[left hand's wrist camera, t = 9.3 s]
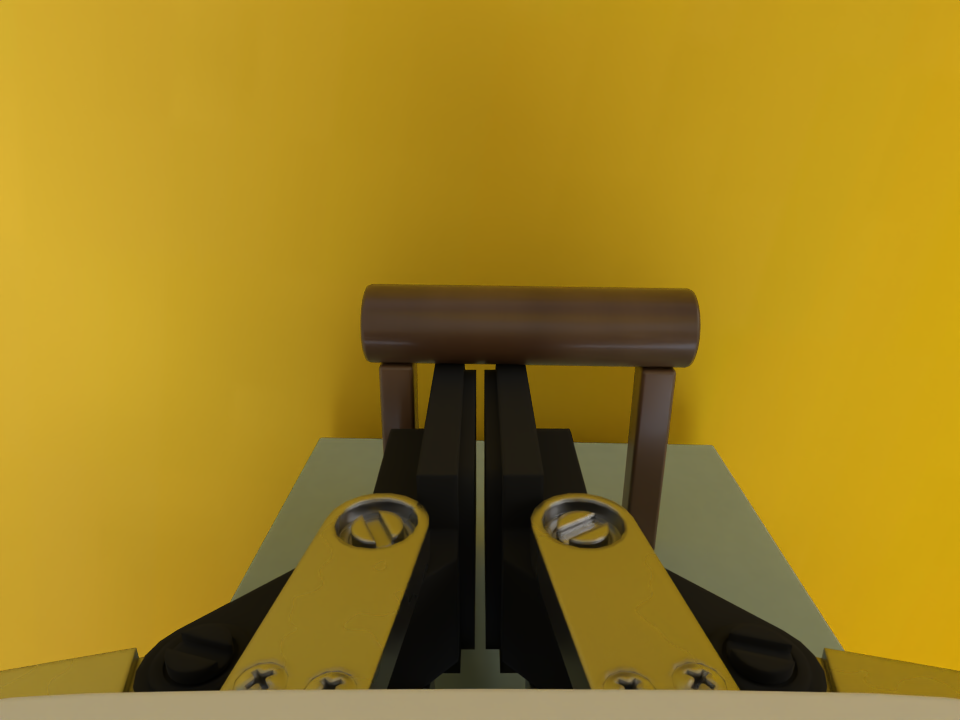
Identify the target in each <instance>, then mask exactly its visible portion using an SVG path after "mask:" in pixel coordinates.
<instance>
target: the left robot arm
mask: <svg viewBox="0 0 960 720" xmlns="http://www.w3.org/2000/svg"><path fill="white" fill-rule="evenodd" d="M484 542H485V641H486V649H499V657H500V673H518V674H519V675H521V676H522V677H523V678H525V689H435V679H436V678H437V677H439V676H440V675H441V674H442V673H460V668H461V650H475V584H476V370H465V364H441V363H435V369H434V375H433V380H432V386H431V392H430V398H429V404H428V410H427V416H426V421H425V427H424V429H391V430H390V433H389V437H388V440H387V444H386V448H385V451H384V455H383V459H382V462H381V466H380V470H379V473H378V477H377V481H376V484H375V488H374V492H373V494H369V495H363V496H359V497H357V498H354V499H351V500H348V501H346V502H344V503H343V504H341V505H340V506H338V507H337V508H335V509H334V510H333V511H332V512H331V513H330V515H329V516H328V517H327V518H326V520H325V521H324V523H323V524H322V526H321V528H320V529H319V531H318V533H317V534H316V536H315V537H314V539H313V541H312V542H311V544H310V545H309V547H308V549H307V550H306V552H305V554H304V555H303V557H302V558H301V560H300V562H299V563H298V565H297V566H296V568H294V569H292V570H291V571H289V572H287V573H285V574H283V575H281V576H279V577H277V578H275V579H273V580H272V581H270V582H268V583H266V584H264V585H262V586H260V587H258V588H256V589H254V590H253V591H251V592H249V593H247V594H245V595H243V596H241V597H239V598H237V599H236V600H234V601H232V602H230V603H228V604H226V605H224V606H222V607H220V608H218V609H217V610H215V611H213V612H211V613H209V614H207V615H205V616H203V617H201V618H199V619H198V620H196V621H194V622H192V623H190V624H188V625H186V626H184V627H182V628H180V629H179V630H177V631H175V632H174V633H172V634H171V635H169V636H167V637H166V638H164V639H163V640H161V641H160V642H159V643H158V644H157V645H156V646H155V647H154V648H153V649H152V650H151V651H150V652H149V653H148V654H147V655H146V656H145V657H142V658H139V657H138V653H137V649H136V648H131V649H126V650H120V651H114V652H108V653H102V654H96V655H91V656H85V657H79V658H73V659H67V660H62V661H56V662H50V663H44V664H38V665H32V666H27V667H21V668H15V669H9V670H3V671H0V720H960V671H957V670H951V669H945V668H939V667H933V666H928V665H922V664H916V663H910V662H904V661H899V660H893V659H887V658H881V657H875V656H870V655H864V654H858V653H852V652H846V651H841V650H835V649H829V648H824V650H823V654H822V658H819V657H815V655H814V654H813V653H812V652H811V651H810V650H809V649H808V648H807V647H806V646H805V645H804V644H803V643H802V642H801V641H799V640H797V639H796V638H794V637H793V636H791V635H790V634H788V633H787V632H785V631H784V630H782V629H780V628H778V627H776V626H774V625H772V624H770V623H769V622H767V621H765V620H763V619H761V618H759V617H757V616H755V615H753V614H751V613H750V612H748V611H746V610H744V609H742V608H740V607H738V606H736V605H734V604H732V603H731V602H729V601H727V600H725V599H723V598H721V597H719V596H717V595H715V594H714V593H712V592H710V591H708V590H706V589H704V588H702V587H700V586H698V585H696V584H695V583H693V582H691V581H689V580H687V579H685V578H683V577H681V576H679V575H677V574H676V573H674V572H672V571H670V570H668V569H666V568H664V566H663V565H662V563H661V562H660V560H659V558H658V557H657V555H656V554H655V552H654V550H653V549H652V547H651V545H650V544H649V542H648V541H647V539H646V537H645V536H644V534H643V533H642V531H641V529H640V528H639V526H638V524H637V523H636V521H635V520H634V518H633V517H632V516H631V515H630V513H629V512H628V511H627V510H626V509H625V508H623V507H622V506H620V505H619V504H617V503H616V502H614V501H612V500H609V499H606V498H603V497H601V496H597V495H591V494H587V490H586V486H585V483H584V479H583V475H582V472H581V468H580V464H579V461H578V457H577V453H576V450H575V446H574V442H573V439H572V435H571V432H570V429H536V424H535V419H534V413H533V407H532V401H531V395H530V389H529V383H528V377H527V372H526V366H525V365H501V364H496V370H485V374H484Z"/></svg>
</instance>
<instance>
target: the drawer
mask: <svg viewBox="0 0 960 720" xmlns="http://www.w3.org/2000/svg"><path fill="white" fill-rule="evenodd" d="M699 339H700V311H699V305H698V301H697V298H696V295H695V293H694V292H693V291H692V290H690V289H682V288H610V287H538V286H466V285H394V284H371V285H369V286H367V287H366V289H365V292H364V295H363V300H362V306H361V342H362V348H363V352H364V355H365V358H366V360H367V361H369V362H381V365H380V367H379V379H380V399H381V418H382V438H383V439H366V438H320V439H319V441H318V443H317V445H316V446H315V448H314V450H313V452H312V454H311V456H310V457H309V459H308V461H307V463H306V465H305V467H304V468H303V470H302V472H301V474H300V476H299V477H298V479H297V481H296V483H295V485H294V487H293V488H292V490H291V492H290V494H289V496H288V498H287V499H286V501H285V503H284V505H283V507H282V508H281V510H280V512H279V514H278V516H277V518H276V519H275V521H274V523H273V525H272V527H271V529H270V530H269V532H268V534H267V536H266V538H265V540H264V541H263V543H262V545H261V547H260V549H259V550H258V552H257V554H256V556H255V558H254V560H253V561H252V563H251V565H250V567H249V569H248V571H247V572H246V574H245V576H244V578H243V580H242V581H241V583H240V585H239V587H238V589H237V591H236V592H235V594H234V596H233V598H232V600H231V602H232V601H234V600H236V599H237V598H239V597H241V596H243V595H245V594H247V593H249V592H251V591H253V590H254V589H256V588H258V587H260V586H262V585H264V584H266V583H268V582H270V581H272V580H273V579H275V578H277V577H279V576H281V575H283V574H285V573H287V572H289V571H291V570H292V569H294V568H296V566H297V565H298V563H299V562H300V560H301V558H302V557H303V555H304V554H305V552H306V550H307V549H308V547H309V545H310V544H311V542H312V541H313V539H314V537H315V536H316V534H317V533H318V531H319V529H320V528H321V526H322V524H323V523H324V521H325V520H326V518H327V517H328V516H329V515H330V513H331V512H332V511H333V510H334V509H335V508H337V507H338V506H340V505H341V504H343V503H344V502H346V501H348V500H351V499H354V498H357V497H359V496H363V495H369V494H373V492H374V488H375V484H376V481H377V477H378V473H379V470H380V466H381V462H382V459H383V455H384V451H385V448H386V444H387V440H388V437H389V433H390V430H391V429H419V424H418V389H417V363H441V364H501V365H561V366H622V367H635V376H634V386H633V396H632V406H631V417H630V427H629V437H628V444H626V443H574V446H575V450H576V453H577V457H578V461H579V464H580V468H581V472H582V475H583V479H584V483H585V486H586V490H587V494H591V495H597V496H601V497H603V498H606V499H609V500H612V501H614V502H616V503H617V504H619V505H620V506H622V507H623V508H625V509H626V510H627V511H628V512H629V513H630V515H631V516H632V517H633V518H634V520H635V521H636V523H637V524H638V526H639V528H640V529H641V531H642V533H643V534H644V536H645V537H646V539H647V541H648V542H649V544H650V545H651V547H652V549H653V550H654V552H655V554H656V555H657V557H658V558H659V560H660V562H661V563H662V565H663V566H664V568H666V569H668V570H670V571H672V572H674V573H676V574H677V575H679V576H681V577H683V578H685V579H687V580H689V581H691V582H693V583H695V584H696V585H698V586H700V587H702V588H704V589H706V590H708V591H710V592H712V593H714V594H715V595H717V596H719V597H721V598H723V599H725V600H727V601H729V602H731V603H732V604H734V605H736V606H738V607H740V608H742V609H744V610H746V611H748V612H750V613H751V614H753V615H755V616H757V617H759V618H761V619H763V620H765V621H767V622H769V623H770V624H772V625H774V626H776V627H778V628H780V629H782V630H784V631H785V632H787V633H788V634H790V635H791V636H793V637H794V638H796V639H797V640H799V641H801V642H802V643H803V644H804V645H805V646H806V647H807V648H808V649H809V650H810V651H811V652H812V653H813V654H814V655H815V657H819V658H822V654H823V650H824V648H829V649H835V650H841V651H844V649H843V648H842V646H841V645H840V643H839V641H838V640H837V638H836V637H835V635H834V634H833V632H832V630H831V629H830V627H829V626H828V624H827V623H826V621H825V620H824V618H823V616H822V615H821V613H820V612H819V610H818V609H817V607H816V606H815V604H814V602H813V601H812V599H811V598H810V596H809V595H808V593H807V592H806V590H805V588H804V587H803V585H802V584H801V582H800V581H799V579H798V577H797V576H796V574H795V573H794V571H793V570H792V568H791V567H790V565H789V563H788V562H787V560H786V559H785V557H784V556H783V554H782V553H781V551H780V549H779V548H778V546H777V545H776V543H775V542H774V540H773V538H772V537H771V535H770V534H769V532H768V531H767V529H766V528H765V526H764V524H763V523H762V521H761V520H760V518H759V517H758V515H757V514H756V512H755V510H754V509H753V507H752V506H751V504H750V503H749V501H748V499H747V498H746V496H745V495H744V493H743V492H742V490H741V489H740V487H739V485H738V484H737V482H736V481H735V479H734V478H733V476H732V475H731V473H730V471H729V470H728V468H727V467H726V465H725V464H724V462H723V461H722V459H721V457H720V456H719V454H718V453H717V451H716V450H715V448H714V446H712V445H678V444H668V436H669V428H670V419H671V411H672V403H673V395H674V387H675V378H676V372H675V370H674V368H673V367H682V368H685V367H688V366H690V365H691V364H692V363H693V361H694V359H695V356H696V353H697V350H698V345H699ZM435 689H525V678H523V677H522V676H521V675H519V674H518V673H500V657H499V649H486V641H485V542H484V441H476V584H475V650H461V668H460V673H442V674H441V675H440V676H439V677H437V678H436V679H435Z"/></svg>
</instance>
